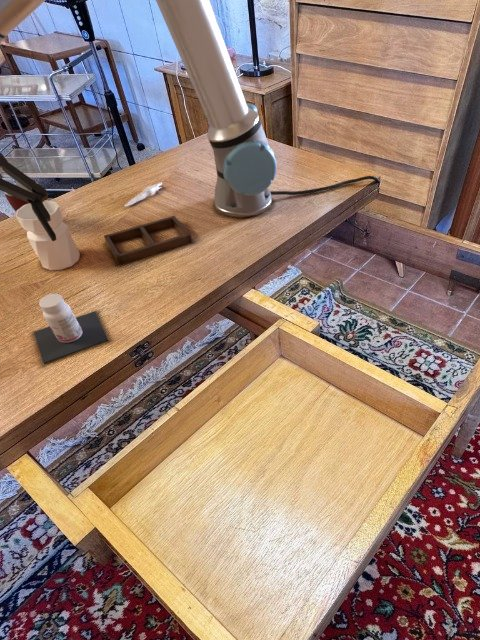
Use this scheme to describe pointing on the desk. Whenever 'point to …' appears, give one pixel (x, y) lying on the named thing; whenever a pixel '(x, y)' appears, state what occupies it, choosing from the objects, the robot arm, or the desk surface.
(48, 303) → the pill bottle
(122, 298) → the desk surface
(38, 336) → the mat
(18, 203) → the mug
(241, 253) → the desk surface
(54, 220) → the vase
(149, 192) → the white elongated piece
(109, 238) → the rack
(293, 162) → the desk surface
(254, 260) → the desk surface
